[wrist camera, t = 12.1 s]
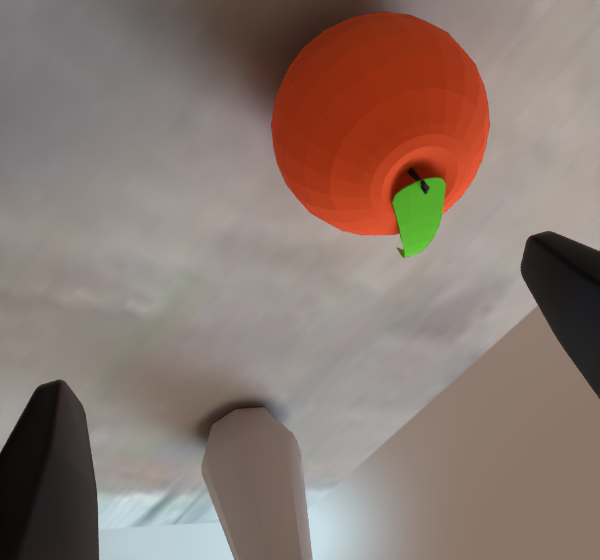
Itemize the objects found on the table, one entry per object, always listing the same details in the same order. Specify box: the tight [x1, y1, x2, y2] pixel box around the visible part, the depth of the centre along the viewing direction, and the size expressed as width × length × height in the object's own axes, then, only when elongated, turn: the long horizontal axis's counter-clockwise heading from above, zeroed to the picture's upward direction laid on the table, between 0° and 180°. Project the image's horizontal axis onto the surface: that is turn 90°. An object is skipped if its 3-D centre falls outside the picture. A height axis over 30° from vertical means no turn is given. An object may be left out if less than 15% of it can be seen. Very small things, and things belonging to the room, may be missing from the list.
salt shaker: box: [202, 407, 312, 560], centre depth 29 cm, size 6×6×13 cm
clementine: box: [271, 12, 490, 258], centre depth 18 cm, size 8×7×7 cm
